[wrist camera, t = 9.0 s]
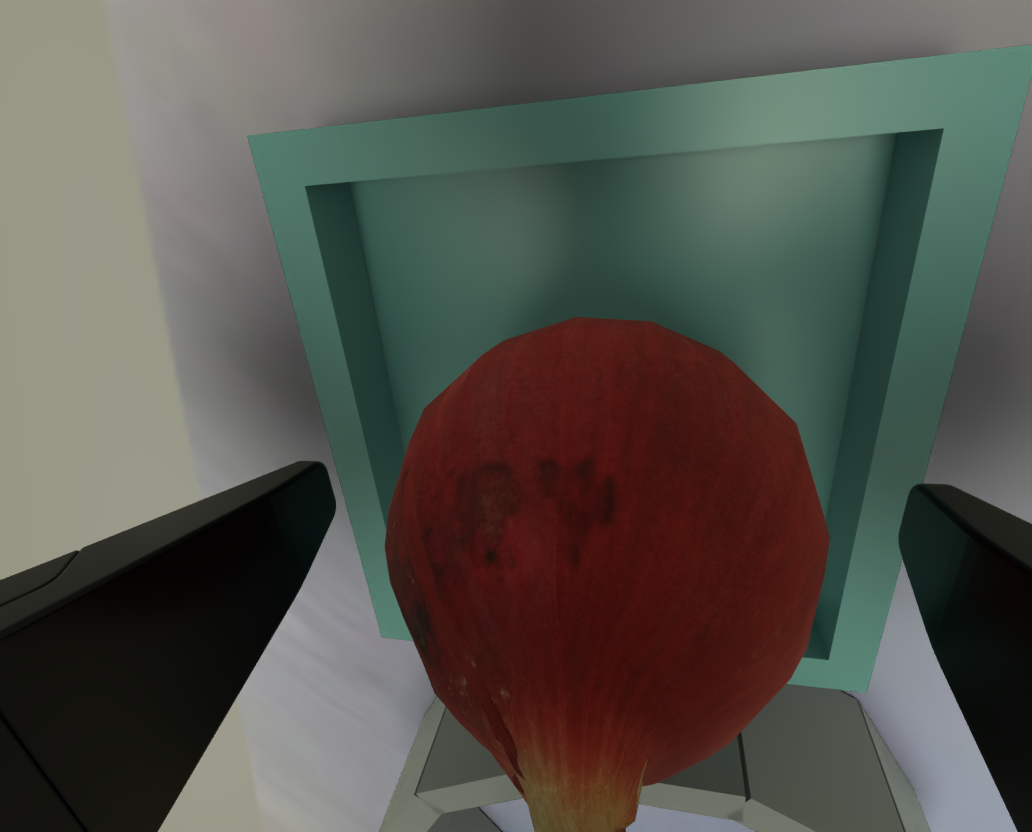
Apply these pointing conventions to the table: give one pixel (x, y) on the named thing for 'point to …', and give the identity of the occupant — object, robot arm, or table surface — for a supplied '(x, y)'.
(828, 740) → the ring
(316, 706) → the table surface
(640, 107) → the tray
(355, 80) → the table surface
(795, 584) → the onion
